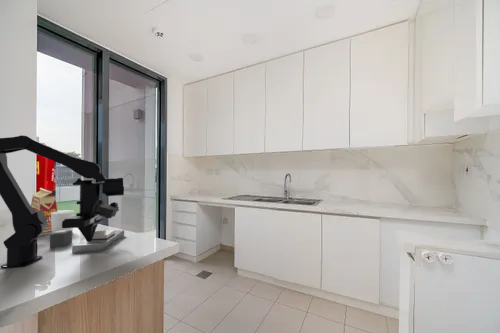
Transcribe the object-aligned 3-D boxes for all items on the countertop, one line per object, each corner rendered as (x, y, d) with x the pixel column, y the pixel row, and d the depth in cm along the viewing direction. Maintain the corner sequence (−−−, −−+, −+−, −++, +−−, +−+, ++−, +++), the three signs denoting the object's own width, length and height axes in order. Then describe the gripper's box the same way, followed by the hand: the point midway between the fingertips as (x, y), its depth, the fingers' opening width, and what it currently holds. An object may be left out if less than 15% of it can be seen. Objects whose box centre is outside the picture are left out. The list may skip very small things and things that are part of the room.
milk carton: (24, 232, 95) (25, 188, 95) (48, 227, 104) (49, 187, 104) (37, 234, 92) (38, 189, 92) (61, 228, 101) (62, 187, 101)
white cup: (78, 231, 96) (79, 210, 96) (61, 237, 88) (62, 213, 88) (63, 231, 96) (63, 209, 97) (45, 236, 89) (45, 213, 89)
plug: (63, 247, 77) (64, 232, 77) (49, 247, 76) (50, 233, 76) (71, 242, 82) (72, 229, 82) (58, 243, 81) (59, 229, 81)
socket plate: (103, 251, 73) (103, 244, 74) (72, 252, 72) (72, 245, 72) (124, 235, 90) (124, 230, 90) (98, 237, 88) (98, 231, 88)
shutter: (105, 239, 77) (105, 230, 77) (84, 240, 76) (84, 231, 76) (115, 232, 85) (115, 225, 85) (97, 233, 84) (97, 225, 84)
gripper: (100, 200, 66) (100, 250, 65) (125, 193, 84) (125, 232, 84) (61, 201, 64) (60, 252, 64) (95, 194, 82) (94, 233, 82)
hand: (89, 241), depth 73 cm, fingers closed
